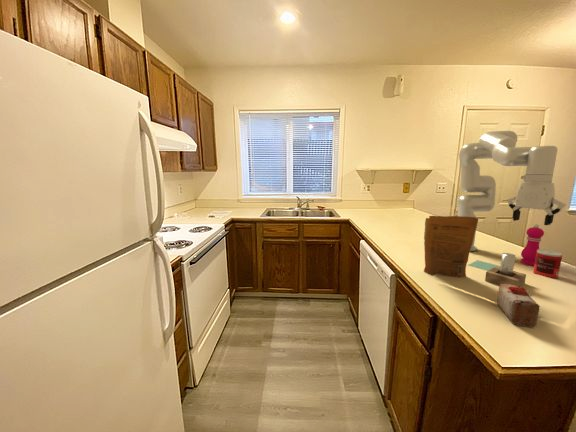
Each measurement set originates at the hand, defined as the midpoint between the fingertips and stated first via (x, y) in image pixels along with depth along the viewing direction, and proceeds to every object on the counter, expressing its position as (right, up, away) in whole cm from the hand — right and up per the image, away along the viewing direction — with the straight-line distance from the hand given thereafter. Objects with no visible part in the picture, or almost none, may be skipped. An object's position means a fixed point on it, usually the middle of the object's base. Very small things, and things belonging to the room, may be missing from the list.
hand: (531, 222), depth 98 cm
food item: (-21, -31, -16) cm, 41 cm away
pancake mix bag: (-26, -25, +13) cm, 38 cm away
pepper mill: (+23, -21, +24) cm, 39 cm away
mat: (-2, -22, +20) cm, 30 cm away
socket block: (-7, -26, +4) cm, 27 cm away
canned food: (+17, -24, +11) cm, 31 cm away
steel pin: (-7, -25, +4) cm, 26 cm away
